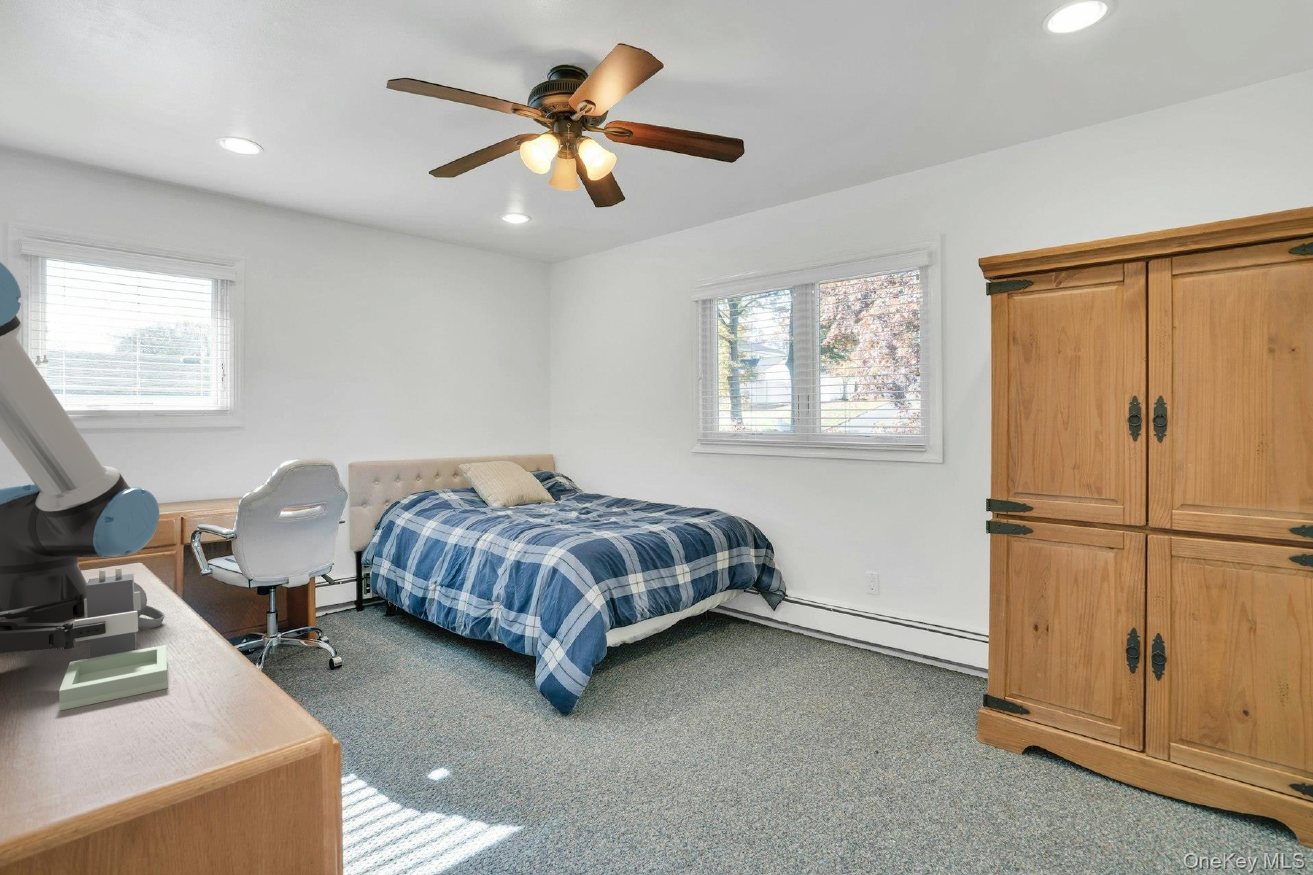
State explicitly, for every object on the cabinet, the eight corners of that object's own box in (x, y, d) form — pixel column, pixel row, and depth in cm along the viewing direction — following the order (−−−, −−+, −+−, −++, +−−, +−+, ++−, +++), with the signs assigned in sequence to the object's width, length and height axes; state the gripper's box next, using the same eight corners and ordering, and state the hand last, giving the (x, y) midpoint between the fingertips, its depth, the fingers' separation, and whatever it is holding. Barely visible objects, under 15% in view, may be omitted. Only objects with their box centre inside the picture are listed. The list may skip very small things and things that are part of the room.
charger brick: (92, 655, 96) (88, 569, 95) (136, 647, 99) (133, 564, 98) (89, 664, 92) (85, 575, 91) (135, 656, 95) (132, 569, 94)
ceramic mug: (72, 642, 102) (71, 592, 102) (91, 627, 109) (90, 580, 109) (157, 632, 106) (156, 584, 106) (169, 619, 114) (168, 574, 114)
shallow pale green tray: (71, 679, 86) (70, 661, 86) (166, 661, 92) (166, 644, 92) (60, 710, 77) (59, 690, 77) (167, 688, 83) (166, 669, 83)
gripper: (-48, 645, 94) (142, 616, 107) (-104, 703, 74) (137, 659, 87) (-51, 592, 94) (140, 569, 107) (-108, 636, 74) (135, 602, 87)
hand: (139, 610), depth 97 cm, fingers open, 13 cm apart
